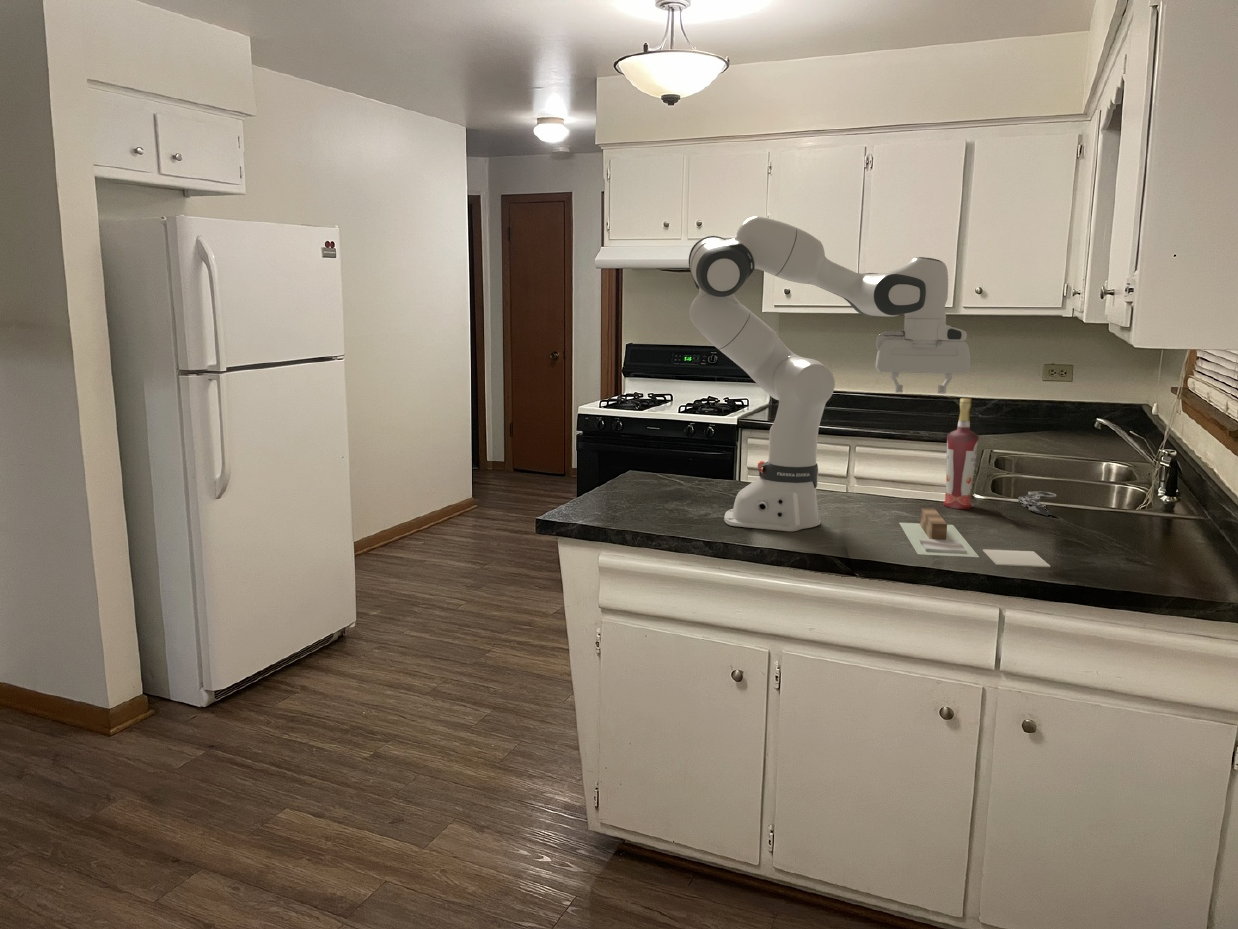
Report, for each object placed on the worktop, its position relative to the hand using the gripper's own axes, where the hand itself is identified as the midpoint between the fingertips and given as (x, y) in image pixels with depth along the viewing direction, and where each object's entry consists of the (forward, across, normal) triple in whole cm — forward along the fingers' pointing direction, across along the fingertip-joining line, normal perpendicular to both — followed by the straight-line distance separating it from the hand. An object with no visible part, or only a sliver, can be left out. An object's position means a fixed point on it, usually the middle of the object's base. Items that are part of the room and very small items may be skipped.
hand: (920, 392), depth 203 cm
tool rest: (+31, +3, -15) cm, 35 cm away
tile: (+31, +16, -23) cm, 41 cm away
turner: (+30, +3, -15) cm, 34 cm away
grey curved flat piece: (+32, +36, +28) cm, 56 cm away
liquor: (+31, +14, +18) cm, 39 cm away
